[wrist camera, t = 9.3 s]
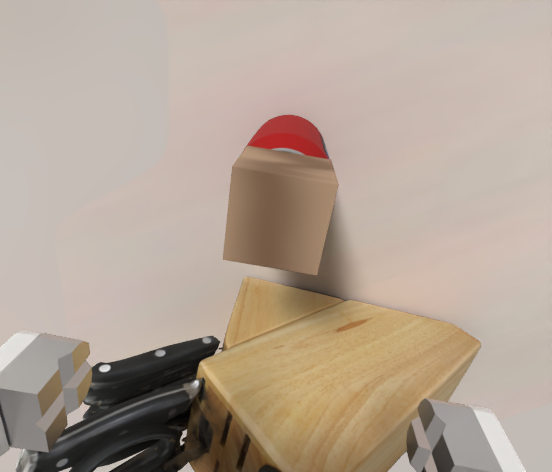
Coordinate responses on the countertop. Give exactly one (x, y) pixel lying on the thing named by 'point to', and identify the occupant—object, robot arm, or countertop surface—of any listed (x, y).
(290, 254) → the walnut block
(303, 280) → the countertop surface
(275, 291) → the knife block
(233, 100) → the countertop surface
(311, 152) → the beverage can
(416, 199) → the countertop surface
